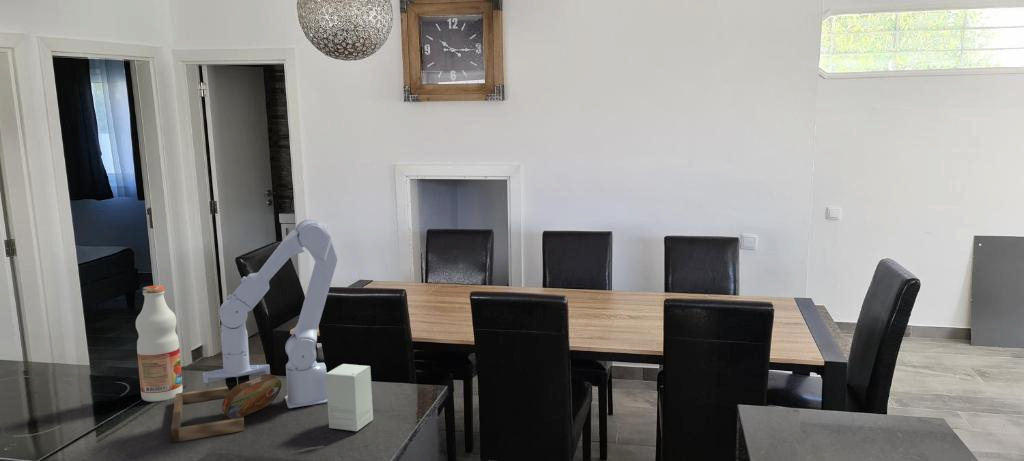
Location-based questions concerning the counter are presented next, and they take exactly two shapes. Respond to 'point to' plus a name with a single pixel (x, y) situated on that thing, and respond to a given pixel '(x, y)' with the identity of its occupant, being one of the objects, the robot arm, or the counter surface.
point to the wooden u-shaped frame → (206, 428)
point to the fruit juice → (158, 348)
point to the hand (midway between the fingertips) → (239, 407)
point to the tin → (251, 396)
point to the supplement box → (349, 397)
